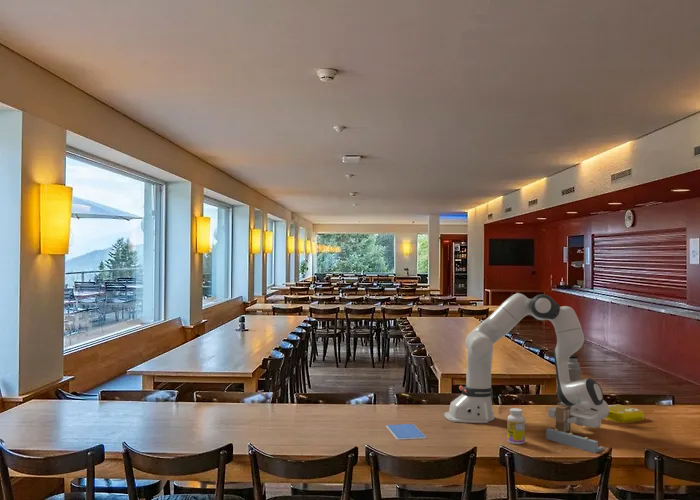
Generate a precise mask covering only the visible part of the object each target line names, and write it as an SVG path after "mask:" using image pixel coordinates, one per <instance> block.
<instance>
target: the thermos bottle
mask: <svg viewBox="0 0 700 500" xmlns="http://www.w3.org/2000/svg"><path fill="white" fill-rule="evenodd" d="M578 357H579V356H577V355H574V354H573V355H571V356H570V358H569V360H568V370H569V377H570V381H571V382H572V381H578V380H582V368H581V367H580V366H581V364H580V362H578ZM562 405H565V404H564V403H562ZM566 406H567V405H566ZM572 406H573V405H572ZM572 406H570V409H571V407H572Z"/></svg>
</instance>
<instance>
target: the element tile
mask: <svg viewBox="0 0 700 500" xmlns="http://www.w3.org/2000/svg"><path fill="white" fill-rule="evenodd" d="M608 406H609V413H608V415H607V417H606V418H605V419H607V420H610V421H613V422H616V423H620V424H627V423H635V421H636V422H640V421H639V420H643V421H644V420H645V412H644V410H641V409H638V408H633V407H630V406H626V405H622V404H619V403H617V404H610V405H609V404H608Z"/></svg>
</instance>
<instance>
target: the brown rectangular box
mask: <svg viewBox="0 0 700 500" xmlns="http://www.w3.org/2000/svg"><path fill="white" fill-rule="evenodd" d="M555 407H556V420H555V429H558V431H562V432H565V433H569V434H570V433H571V423H566V422H565V418H570V406H566V405H563V404H562V405H559V406H555Z"/></svg>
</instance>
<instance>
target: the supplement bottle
mask: <svg viewBox="0 0 700 500" xmlns="http://www.w3.org/2000/svg"><path fill="white" fill-rule="evenodd" d="M509 413H510V414H509V415H508V416H507V418H506V422H507V423H506V424H507V427H506V429H507V430H506V433H507V434H506V435H507V437H506V438H507V442H508V443H509V444H513V445H523V444H525V442H526V441H525V440H526V438H525V437H526V419H525V416H523V409H521V408H518V407H513V408H510V409H509Z"/></svg>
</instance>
